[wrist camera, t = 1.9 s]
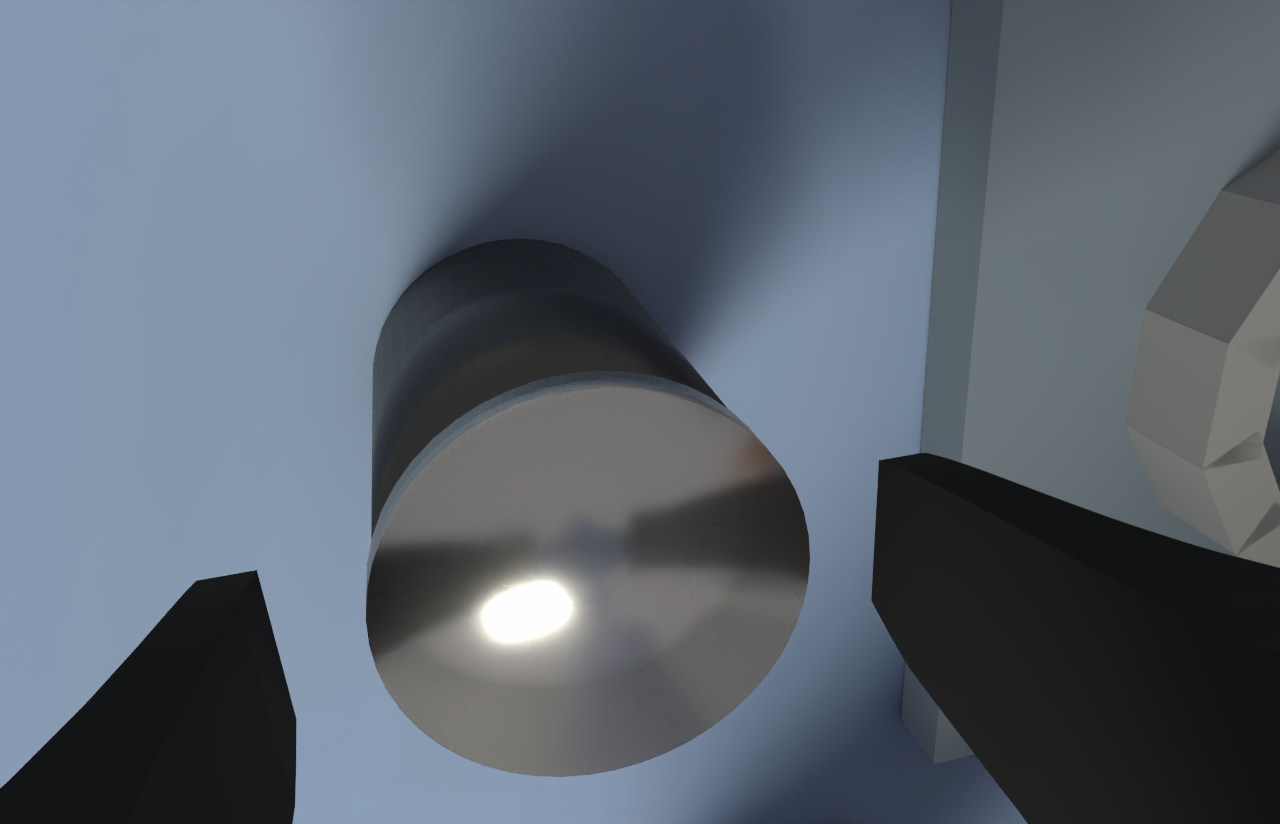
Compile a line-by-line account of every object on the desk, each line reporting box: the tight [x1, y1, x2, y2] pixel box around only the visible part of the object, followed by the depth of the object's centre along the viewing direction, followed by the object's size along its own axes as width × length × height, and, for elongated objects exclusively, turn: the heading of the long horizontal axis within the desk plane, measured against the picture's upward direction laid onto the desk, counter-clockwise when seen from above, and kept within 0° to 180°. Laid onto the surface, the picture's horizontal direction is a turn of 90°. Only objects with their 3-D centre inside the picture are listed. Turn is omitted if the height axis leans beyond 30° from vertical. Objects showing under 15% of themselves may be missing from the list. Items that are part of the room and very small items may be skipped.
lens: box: [366, 239, 810, 777], centre depth 14 cm, size 5×5×7 cm
